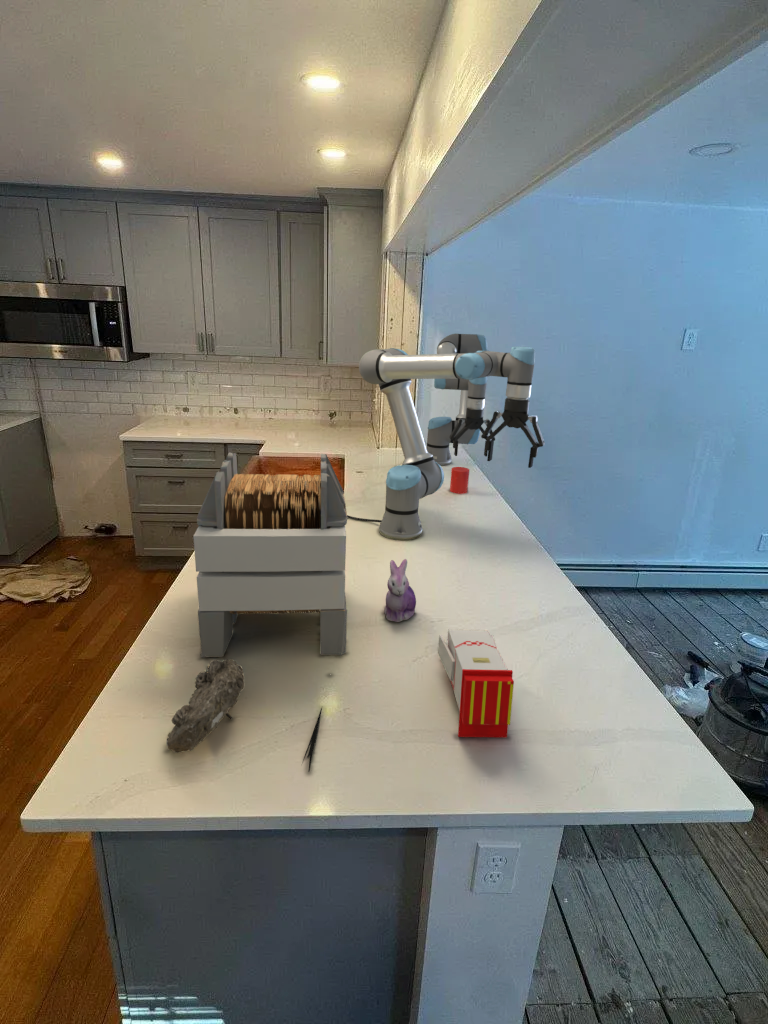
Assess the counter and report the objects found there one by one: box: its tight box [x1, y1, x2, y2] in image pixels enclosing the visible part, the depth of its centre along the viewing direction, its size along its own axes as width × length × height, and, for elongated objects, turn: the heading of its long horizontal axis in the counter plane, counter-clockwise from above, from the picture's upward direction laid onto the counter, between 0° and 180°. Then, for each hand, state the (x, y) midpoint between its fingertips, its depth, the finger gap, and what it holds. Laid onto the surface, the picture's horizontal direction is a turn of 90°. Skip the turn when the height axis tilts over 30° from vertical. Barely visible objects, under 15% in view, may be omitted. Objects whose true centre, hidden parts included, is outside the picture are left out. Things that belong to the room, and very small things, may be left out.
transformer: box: [193, 452, 348, 659], centre depth 136 cm, size 34×33×41 cm
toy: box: [437, 628, 515, 738], centre depth 117 cm, size 12×13×30 cm
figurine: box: [384, 558, 417, 623], centre depth 145 cm, size 9×10×15 cm
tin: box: [449, 466, 470, 495], centre depth 249 cm, size 8×8×10 cm
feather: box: [301, 673, 332, 771], centre depth 108 cm, size 2×28×2 cm
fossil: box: [166, 658, 245, 754], centre depth 106 cm, size 22×10×15 cm
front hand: (509, 463), depth 185 cm, fingers open, 13 cm apart
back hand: (470, 455), depth 254 cm, fingers open, 13 cm apart
